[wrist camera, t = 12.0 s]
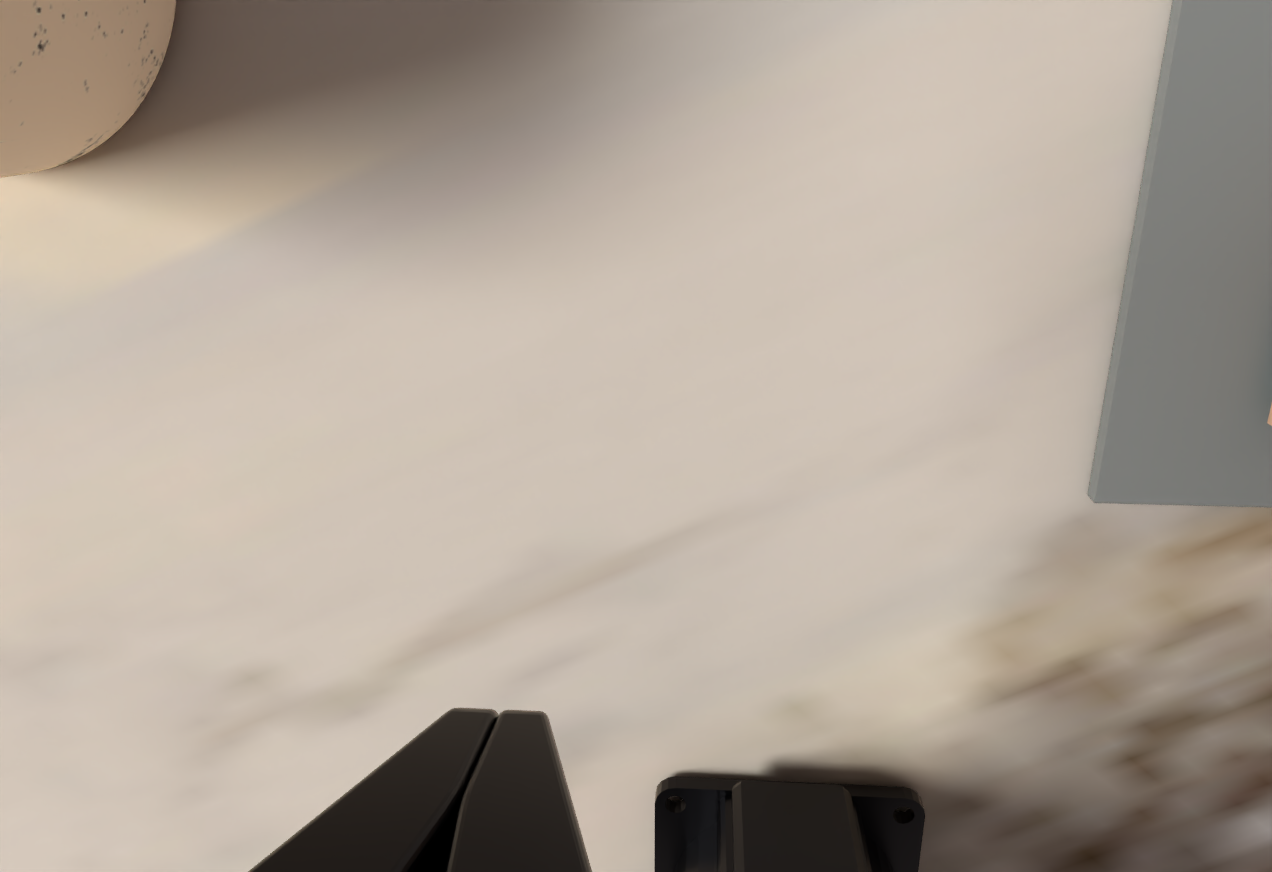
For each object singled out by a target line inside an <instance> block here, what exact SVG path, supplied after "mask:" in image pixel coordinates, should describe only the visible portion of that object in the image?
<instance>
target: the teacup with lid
mask: <svg viewBox="0 0 1272 872" xmlns="http://www.w3.org/2000/svg"><path fill="white" fill-rule="evenodd" d="M175 7H176V0H0V178H2V177H9V176H15V175H21V174H27V173H33V172H38V171H42V170H46V169H50V168H54V167H56V166H59V165H62V164H65V163H67V162H70V161H72V160H74V159H76V158H78V157H80V156H82V155H84V154H86V153H88V152H90V151H92V150H93V149H95V148H96V147H98V146H99V145H101V144H102V143H104V142H105V141H106V140H107V139H109V138H110V137H111V136H112V135H113V134H114V133H116V132H117V131H118V130H119V129H120V128H121V127H122V126H123V125H124V124H125V123H126V122H127V121H128V119H129V118H130V117H131V116H132V115H133V114H134V112H135V111H136V110H137V108H138V107H139V105H140V104H141V103H142V101H143V100H144V99H145V97H146V95H147V93H148V92H149V90H150V88H151V86H152V84H153V83H154V81H155V79H156V77H157V74H158V72H159V70H160V67H161V65H162V63H163V60H164V57H165V54H166V51H167V48H168V44H169V41H170V37H171V32H172V27H173V22H174V17H175Z"/></svg>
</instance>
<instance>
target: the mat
mask: <svg viewBox="0 0 1272 872" xmlns="http://www.w3.org/2000/svg"><path fill="white" fill-rule="evenodd" d="M1271 404H1272V0H1173V2H1172V8H1171V14H1170V20H1169V26H1168V31H1167V37H1166V43H1165V49H1164V55H1163V60H1162V66H1161V72H1160V78H1159V84H1158V89H1157V95H1156V101H1155V107H1154V113H1153V118H1152V124H1151V130H1150V136H1149V142H1148V147H1147V153H1146V159H1145V165H1144V171H1143V176H1142V182H1141V188H1140V194H1139V200H1138V205H1137V211H1136V217H1135V223H1134V229H1133V234H1132V240H1131V246H1130V252H1129V258H1128V264H1127V269H1126V275H1125V281H1124V287H1123V293H1122V298H1121V304H1120V310H1119V316H1118V322H1117V327H1116V333H1115V339H1114V345H1113V351H1112V356H1111V362H1110V368H1109V374H1108V380H1107V385H1106V391H1105V397H1104V403H1103V409H1102V414H1101V420H1100V426H1099V432H1098V438H1097V443H1096V449H1095V455H1094V461H1093V467H1092V472H1091V478H1090V484H1089V490H1088V496H1089V497H1090V499H1091V500H1092V501H1093V502H1094V503H1118V504H1157V505H1196V506H1236V507H1272V426H1271V425H1269V424H1268V423H1267V421H1268V417H1269V413H1270V408H1271Z"/></svg>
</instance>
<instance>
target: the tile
mask: <svg viewBox="0 0 1272 872" xmlns="http://www.w3.org/2000/svg"><path fill="white" fill-rule="evenodd" d="M1267 423H1268V424H1269V425H1271V426H1272V404H1271V408H1270V413H1269V417H1268V421H1267Z"/></svg>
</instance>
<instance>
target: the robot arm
mask: <svg viewBox="0 0 1272 872" xmlns="http://www.w3.org/2000/svg"><path fill="white" fill-rule="evenodd" d="M672 796H678V797H681V798H682V799H683V800H681V801H677V802H675V801H671V800H670V799H669V797H672ZM899 807H909V809H908V810H906V811H903V812H898V811H895V810H896V809H898V808H899ZM924 819H925V813H924V808H923V804H922V801H921V798H920V796H919V795H918V793H917V792H915V791H914V790H912V789H910V788H905V787H892V786H869V785H847V784H825V783H802V782H780V781H758V780H736V779H713V778H691V777H670V778H667V779H665V780H663V781H661V783H660V784H659V785H658V786H657V790H656V797H655V872H918V867H919V859H920V851H921V843H922V835H923V827H924ZM248 872H592V870H591V867H590V863H589V860H588V856H587V853H586V849H585V845H584V842H583V838H582V835H581V831H580V828H579V824H578V821H577V817H576V814H575V810H574V807H573V803H572V800H571V796H570V792H569V789H568V785H567V782H566V778H565V775H564V771H563V768H562V764H561V761H560V757H559V754H558V750H557V747H556V743H555V740H554V736H553V732H552V729H551V725H550V722H549V719H548V716H547V715H546V714H545V713H544V712H541V711H523V710H505V711H503V712H501V713H500V714H499V715H498V713H497V712H496V711H495V710H492V709H476V708H454V709H451V710H449V711H448V712H446V713H445V714H444V715H442V716H441V717H440V718H439V719H437V720H436V721H435V722H434V723H433V724H431V725H430V726H429V727H428V728H426V729H425V730H424V731H423V732H421V733H420V734H419V735H418V736H416V737H415V738H414V739H413V740H411V741H410V742H409V743H408V744H406V745H405V746H404V747H403V748H401V749H400V750H399V751H398V752H396V753H395V754H394V755H393V756H391V757H390V758H389V759H388V760H386V761H385V762H384V763H383V764H382V765H380V766H379V767H378V768H377V769H375V770H374V771H373V772H372V773H370V774H369V775H368V776H367V777H365V778H364V779H363V780H362V781H360V782H359V783H358V784H357V785H355V786H354V787H353V788H352V789H350V790H349V791H348V792H347V793H345V794H344V795H343V796H342V797H340V798H339V799H338V800H337V801H335V802H334V803H333V804H332V805H331V806H329V807H328V808H327V809H326V810H324V811H323V812H322V813H321V814H319V815H318V816H317V817H316V818H314V819H313V820H312V821H311V822H309V823H308V824H307V825H306V826H304V827H303V828H302V829H301V830H299V831H298V832H297V833H296V834H294V835H293V836H292V837H291V838H289V839H288V840H287V841H286V842H284V843H283V844H282V845H281V846H280V847H278V848H277V849H276V850H275V851H273V852H272V853H271V854H270V855H268V856H267V857H266V858H265V859H263V860H262V861H261V862H260V863H258V864H257V865H256V866H255V867H253V868H252V869H251V870H250V871H248Z"/></svg>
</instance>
